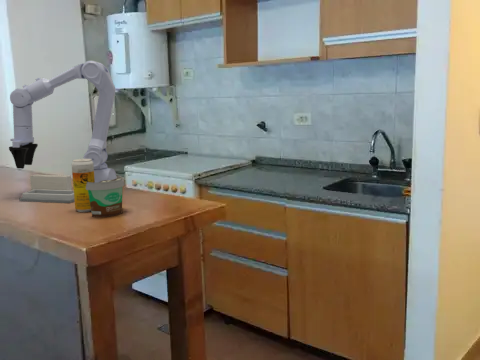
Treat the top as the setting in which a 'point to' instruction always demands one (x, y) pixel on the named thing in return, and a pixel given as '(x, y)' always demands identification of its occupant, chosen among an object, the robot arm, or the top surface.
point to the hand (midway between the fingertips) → (24, 166)
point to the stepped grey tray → (48, 196)
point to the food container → (106, 197)
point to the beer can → (82, 183)
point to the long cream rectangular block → (51, 182)
